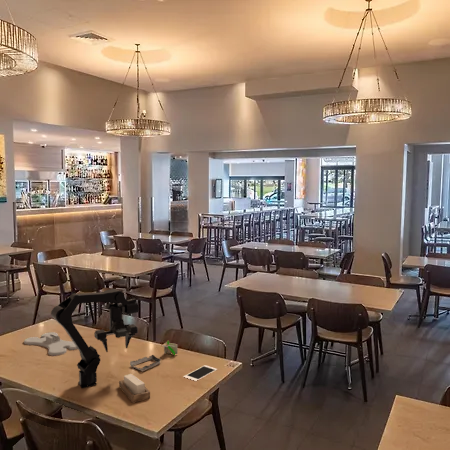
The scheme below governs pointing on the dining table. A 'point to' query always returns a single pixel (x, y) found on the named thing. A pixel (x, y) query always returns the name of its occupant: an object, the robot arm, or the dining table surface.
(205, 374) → the cell phone
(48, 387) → the dining table surface
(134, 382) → the white rectangular block
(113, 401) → the dining table surface
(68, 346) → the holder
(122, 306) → the robot arm
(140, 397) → the cradle
